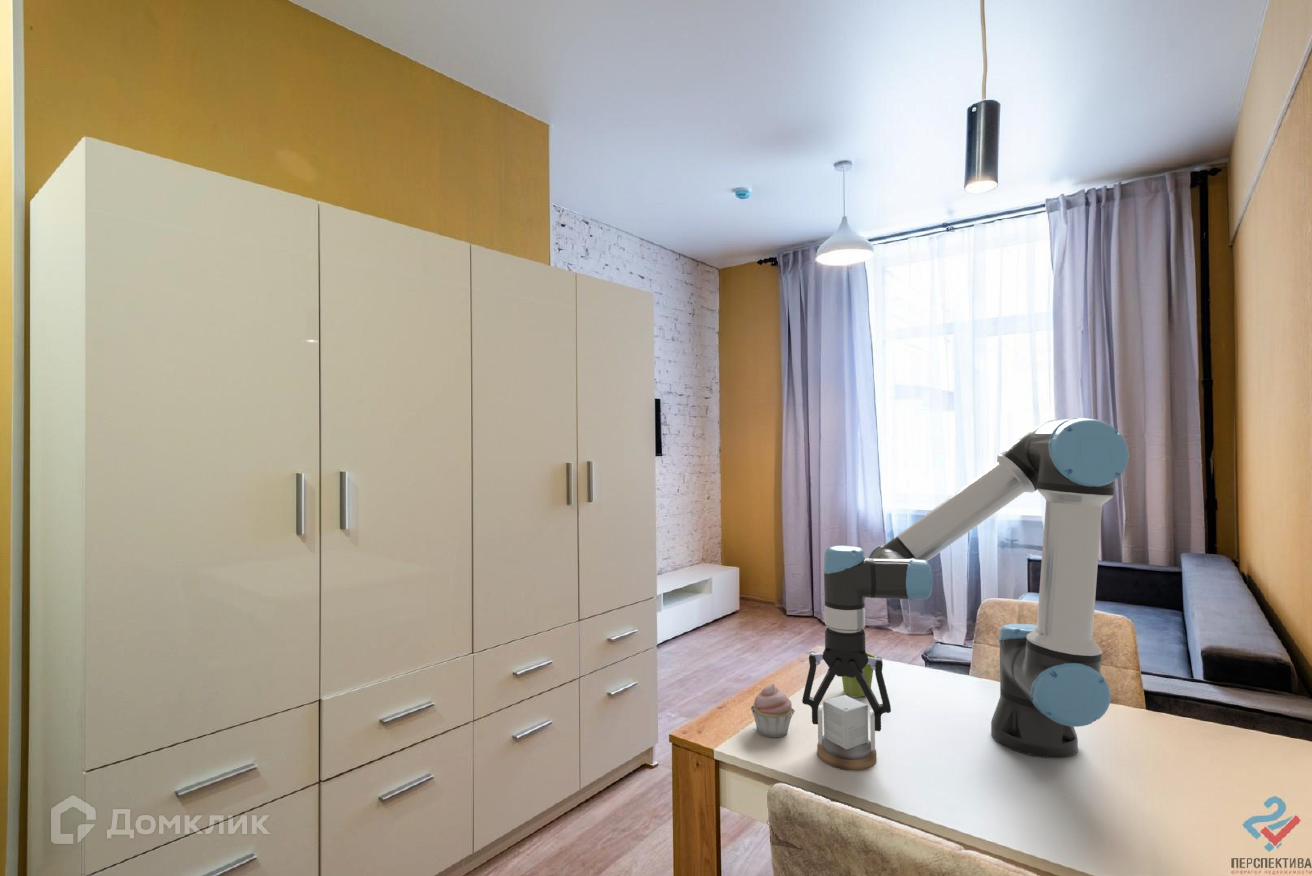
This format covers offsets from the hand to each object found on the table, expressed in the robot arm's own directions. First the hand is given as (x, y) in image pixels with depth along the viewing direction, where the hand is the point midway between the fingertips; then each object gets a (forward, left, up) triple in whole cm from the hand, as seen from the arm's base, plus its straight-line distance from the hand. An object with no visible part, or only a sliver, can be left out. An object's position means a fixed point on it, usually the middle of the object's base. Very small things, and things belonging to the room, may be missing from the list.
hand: (846, 743), depth 126 cm
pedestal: (0, 0, -2) cm, 2 cm away
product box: (0, 0, 0) cm, 0 cm away
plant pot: (-2, -33, -3) cm, 33 cm away
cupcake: (+15, -7, -3) cm, 17 cm away
